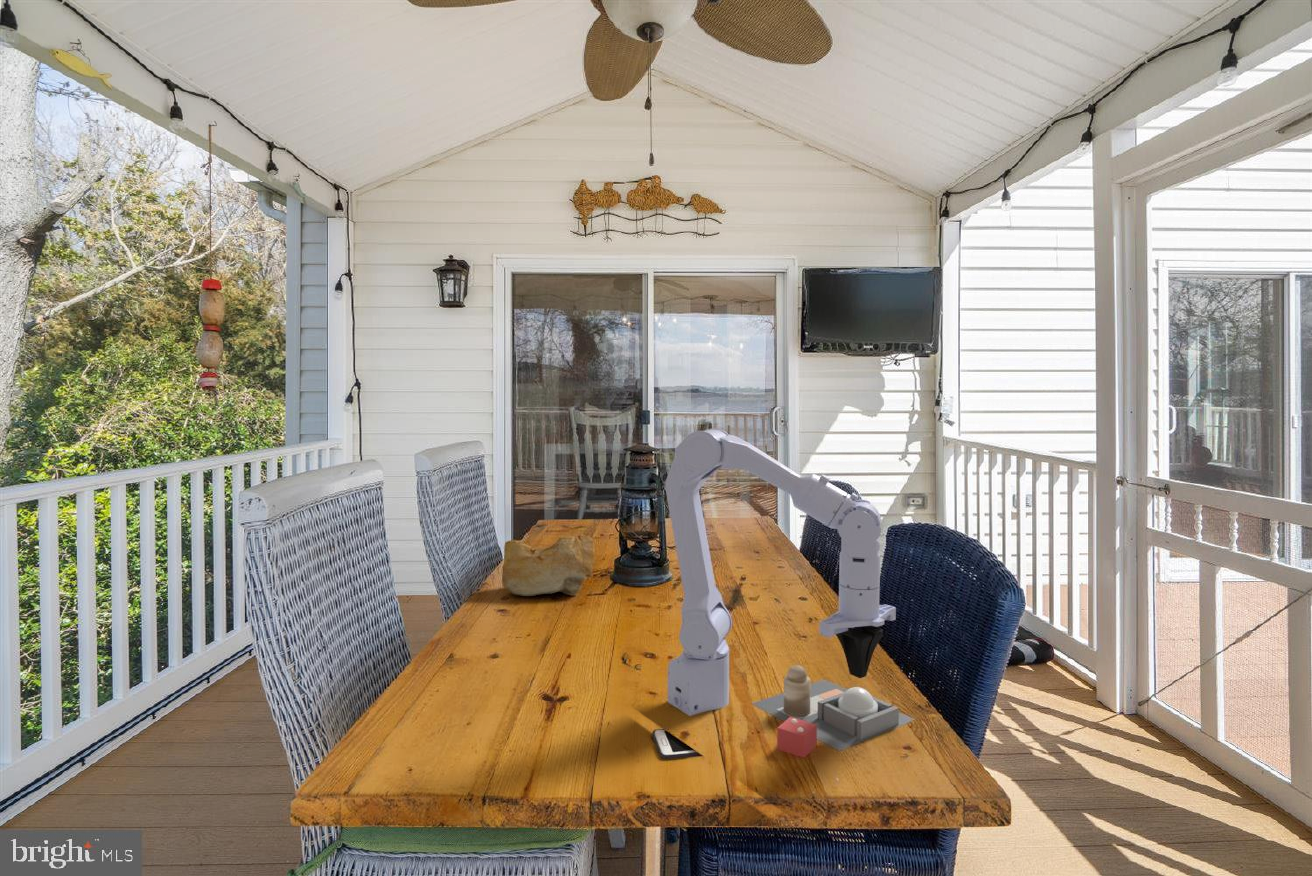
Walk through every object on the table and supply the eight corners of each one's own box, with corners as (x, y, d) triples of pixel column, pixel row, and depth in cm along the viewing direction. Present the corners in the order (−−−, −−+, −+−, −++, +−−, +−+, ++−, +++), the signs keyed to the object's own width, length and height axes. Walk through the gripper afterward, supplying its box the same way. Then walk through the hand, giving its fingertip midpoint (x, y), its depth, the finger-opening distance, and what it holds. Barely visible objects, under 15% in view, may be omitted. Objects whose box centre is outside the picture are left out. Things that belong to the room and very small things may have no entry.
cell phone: (651, 736, 103) (651, 729, 103) (747, 726, 106) (747, 720, 106) (661, 763, 96) (661, 756, 96) (764, 752, 98) (764, 745, 98)
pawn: (796, 719, 105) (797, 672, 105) (778, 709, 108) (778, 664, 108) (815, 712, 107) (816, 667, 107) (796, 703, 111) (797, 658, 110)
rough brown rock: (604, 586, 186) (603, 529, 187) (592, 599, 170) (591, 536, 170) (519, 587, 188) (517, 531, 189) (499, 600, 172) (497, 538, 172)
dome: (860, 731, 101) (860, 699, 100) (830, 716, 105) (830, 686, 105) (885, 720, 104) (886, 690, 103) (855, 707, 108) (855, 677, 108)
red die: (804, 765, 94) (804, 733, 94) (777, 756, 96) (777, 724, 96) (816, 752, 97) (816, 721, 97) (790, 744, 100) (790, 714, 99)
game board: (839, 758, 96) (839, 733, 96) (751, 709, 111) (751, 688, 111) (915, 726, 105) (915, 703, 105) (824, 685, 120) (824, 665, 120)
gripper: (846, 599, 96) (845, 696, 97) (913, 583, 104) (911, 673, 105) (808, 587, 102) (807, 679, 103) (874, 573, 110) (873, 658, 111)
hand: (857, 675), depth 104 cm, fingers closed
